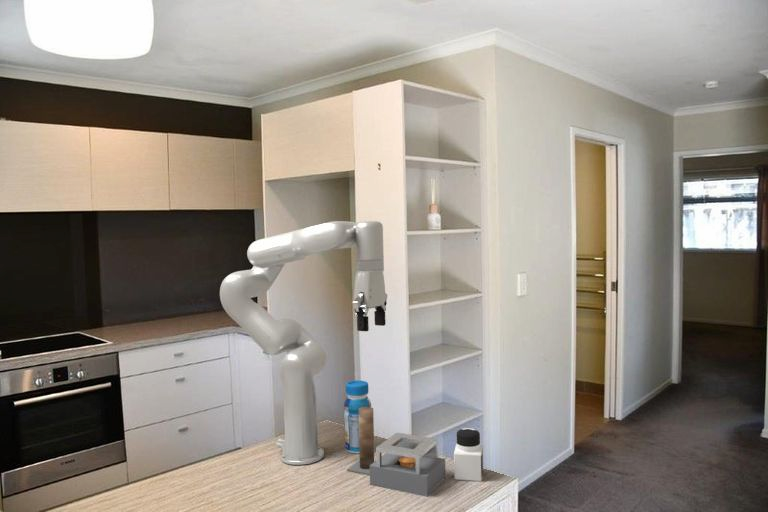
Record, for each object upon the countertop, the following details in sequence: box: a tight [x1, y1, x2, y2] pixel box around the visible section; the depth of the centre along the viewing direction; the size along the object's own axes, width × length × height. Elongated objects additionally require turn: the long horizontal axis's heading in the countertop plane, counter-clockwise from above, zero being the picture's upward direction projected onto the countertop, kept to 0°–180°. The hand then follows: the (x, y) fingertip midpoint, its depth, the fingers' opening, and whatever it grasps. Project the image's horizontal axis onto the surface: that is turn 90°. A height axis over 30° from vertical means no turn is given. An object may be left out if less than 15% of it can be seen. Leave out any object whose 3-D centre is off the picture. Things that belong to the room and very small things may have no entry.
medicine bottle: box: [453, 427, 484, 482], centre depth 155 cm, size 7×7×12 cm
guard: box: [375, 432, 439, 475], centre depth 152 cm, size 12×12×5 cm
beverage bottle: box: [343, 380, 372, 455], centre depth 175 cm, size 8×8×20 cm
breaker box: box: [369, 453, 447, 497], centre depth 152 cm, size 16×12×5 cm
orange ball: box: [399, 456, 416, 468], centre depth 152 cm, size 5×5×6 cm
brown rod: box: [359, 406, 375, 469], centre depth 161 cm, size 4×4×16 cm
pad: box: [346, 459, 376, 476], centre depth 161 cm, size 8×8×1 cm
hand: (371, 328), depth 162 cm, fingers open, 9 cm apart
